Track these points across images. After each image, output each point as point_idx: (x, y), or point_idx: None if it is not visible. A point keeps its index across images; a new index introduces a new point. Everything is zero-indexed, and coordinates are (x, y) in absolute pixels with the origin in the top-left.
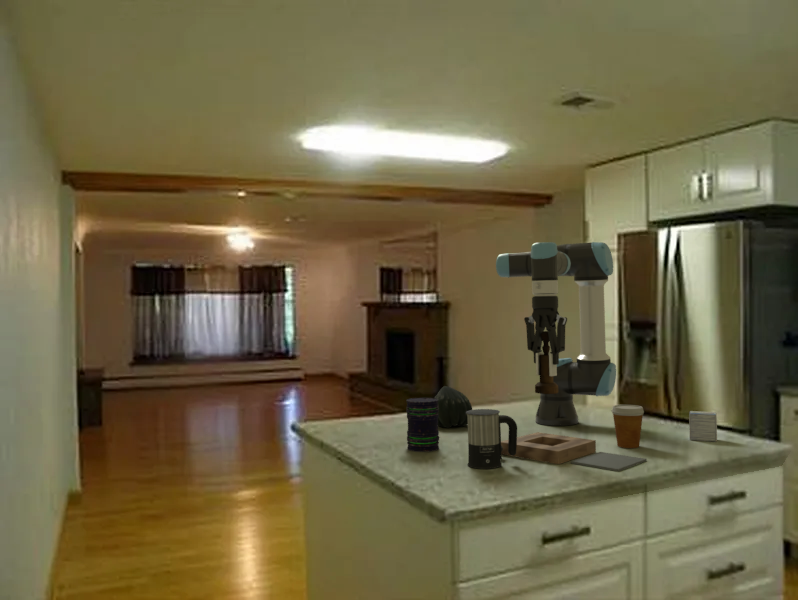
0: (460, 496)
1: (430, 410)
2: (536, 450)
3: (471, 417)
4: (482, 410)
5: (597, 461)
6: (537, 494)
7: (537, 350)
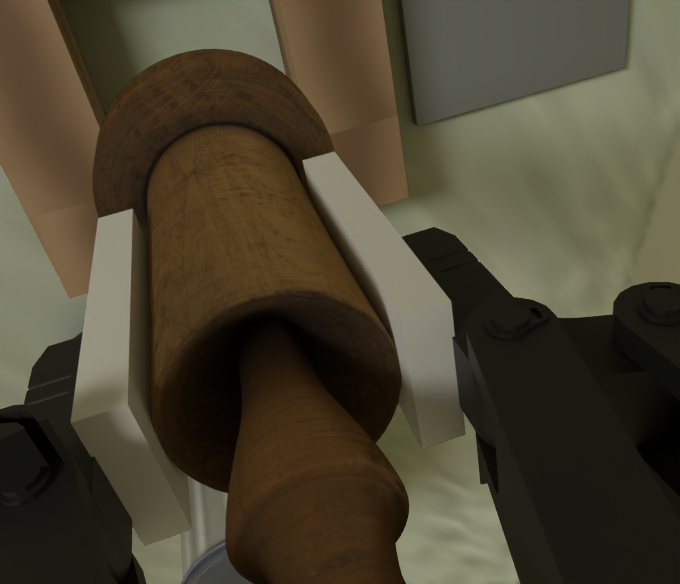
0: (453, 560)
1: None
2: None
3: None
4: (233, 580)
5: (498, 26)
6: None
7: (125, 549)
